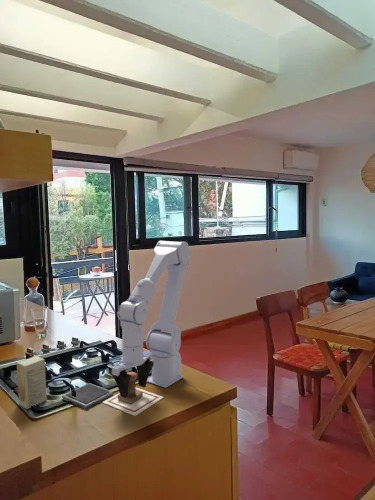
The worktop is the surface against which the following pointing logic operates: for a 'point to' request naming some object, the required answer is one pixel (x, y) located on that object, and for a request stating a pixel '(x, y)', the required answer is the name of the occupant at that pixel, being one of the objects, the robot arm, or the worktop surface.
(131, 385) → the stamp
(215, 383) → the worktop surface
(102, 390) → the ink pad
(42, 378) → the skincare box
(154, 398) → the marked sheet
